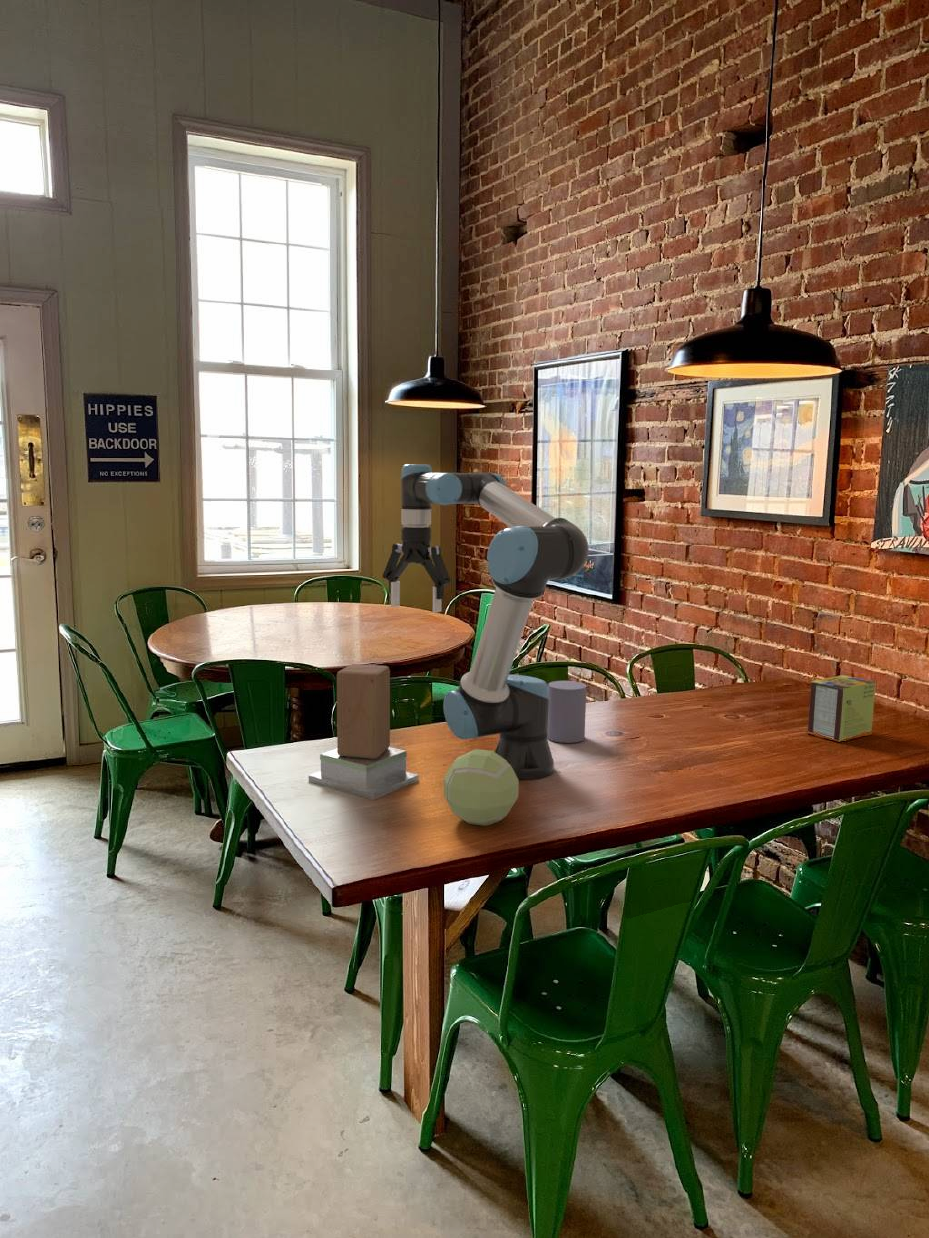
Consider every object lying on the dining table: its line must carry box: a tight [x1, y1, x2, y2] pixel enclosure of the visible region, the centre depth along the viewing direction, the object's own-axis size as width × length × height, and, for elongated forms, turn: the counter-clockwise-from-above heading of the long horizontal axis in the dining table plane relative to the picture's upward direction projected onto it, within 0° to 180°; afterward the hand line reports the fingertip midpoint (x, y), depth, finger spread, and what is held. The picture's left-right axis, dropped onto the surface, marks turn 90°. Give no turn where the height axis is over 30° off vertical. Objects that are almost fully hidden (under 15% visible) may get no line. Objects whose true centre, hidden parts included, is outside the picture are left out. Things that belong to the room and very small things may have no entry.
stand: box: [308, 746, 419, 801], centre depth 218 cm, size 20×16×7 cm
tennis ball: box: [443, 748, 520, 827], centre depth 193 cm, size 15×15×15 cm
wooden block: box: [336, 663, 391, 759], centre depth 216 cm, size 10×10×20 cm
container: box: [547, 680, 587, 744], centre depth 254 cm, size 10×10×15 cm
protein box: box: [807, 674, 877, 741], centre depth 261 cm, size 10×15×16 cm
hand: (415, 609), depth 239 cm, fingers open, 13 cm apart
